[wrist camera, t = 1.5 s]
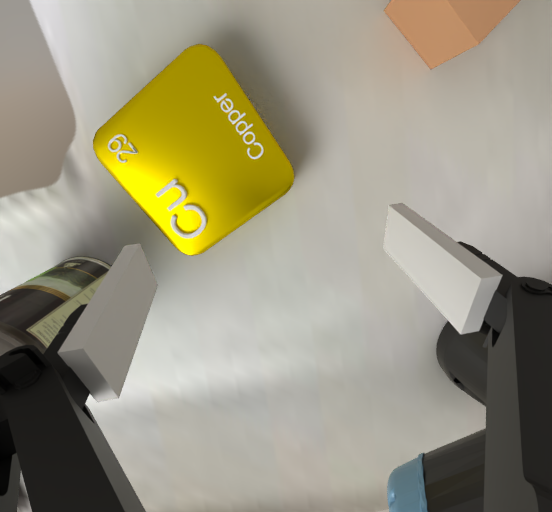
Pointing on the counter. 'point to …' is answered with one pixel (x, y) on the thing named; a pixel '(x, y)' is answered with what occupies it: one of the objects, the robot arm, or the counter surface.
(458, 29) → the orange cube
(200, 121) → the element tile
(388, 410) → the counter surface
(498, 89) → the counter surface
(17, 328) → the coffee can
